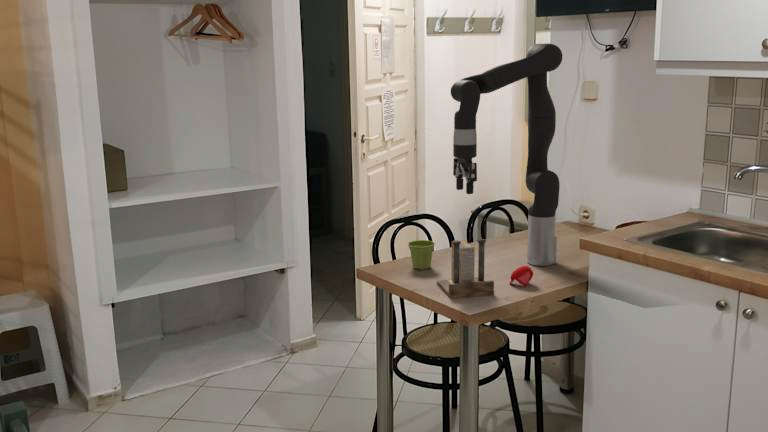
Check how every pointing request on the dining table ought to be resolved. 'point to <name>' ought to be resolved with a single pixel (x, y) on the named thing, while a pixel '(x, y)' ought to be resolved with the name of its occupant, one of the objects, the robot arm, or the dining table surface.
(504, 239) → the dining table surface
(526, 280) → the cap
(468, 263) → the supplement box
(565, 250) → the dining table surface
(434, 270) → the dining table surface
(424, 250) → the plant pot
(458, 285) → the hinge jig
